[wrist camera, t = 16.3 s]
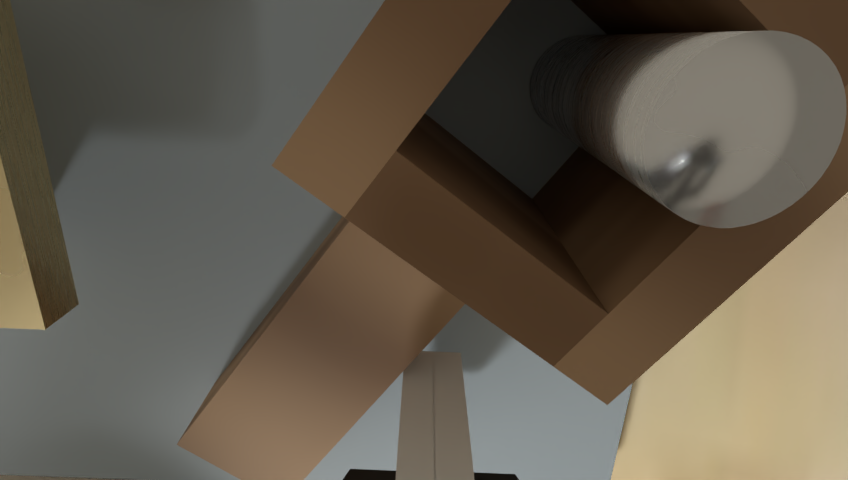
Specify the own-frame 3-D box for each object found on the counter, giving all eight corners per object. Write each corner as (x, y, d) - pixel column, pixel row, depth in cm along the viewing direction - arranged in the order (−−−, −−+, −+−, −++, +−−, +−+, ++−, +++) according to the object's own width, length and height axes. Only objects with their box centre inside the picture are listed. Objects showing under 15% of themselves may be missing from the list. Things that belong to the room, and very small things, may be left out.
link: (345, 460, 17) (303, 674, 11) (166, 355, 15) (14, 541, 10) (719, 62, 12) (971, 81, 6) (516, -139, 11) (614, -336, 5)
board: (25, 447, 18) (-2, 474, 17) (-226, -374, 10) (-305, -424, 9) (595, 468, 18) (606, 496, 17) (764, -320, 11) (803, -362, 9)
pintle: (524, 128, 13) (628, 224, 6) (535, 33, 12) (667, 26, 5) (613, 133, 13) (809, 231, 6) (629, 37, 12) (876, 34, 5)
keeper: (-47, 232, 14) (-253, 318, 10) (-154, -117, 11) (-519, -215, 7) (273, 246, 14) (206, 335, 10) (249, -97, 11) (140, -181, 7)
